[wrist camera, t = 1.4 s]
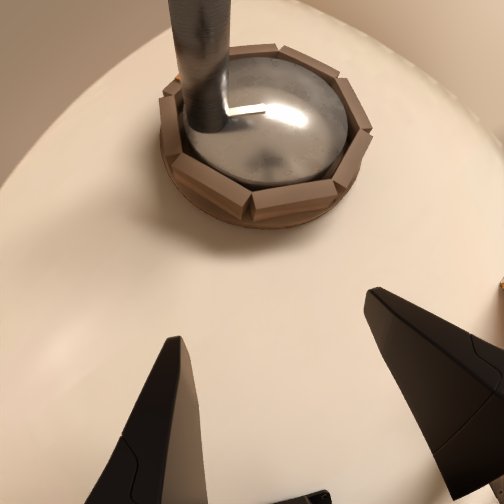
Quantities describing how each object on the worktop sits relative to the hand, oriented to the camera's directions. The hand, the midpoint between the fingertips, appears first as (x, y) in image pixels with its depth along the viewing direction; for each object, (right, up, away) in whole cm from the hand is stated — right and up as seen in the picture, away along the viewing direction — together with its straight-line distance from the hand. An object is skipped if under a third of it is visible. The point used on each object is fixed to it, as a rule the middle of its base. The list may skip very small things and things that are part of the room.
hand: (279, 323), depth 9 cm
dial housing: (0, +12, +16) cm, 20 cm away
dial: (0, +12, +14) cm, 19 cm away
